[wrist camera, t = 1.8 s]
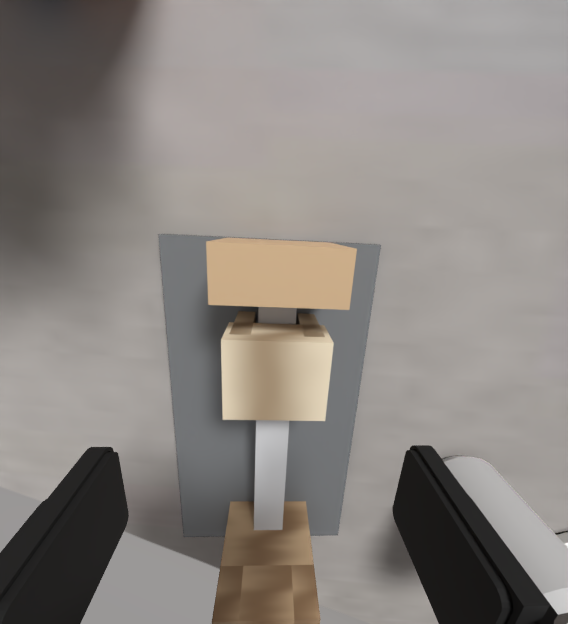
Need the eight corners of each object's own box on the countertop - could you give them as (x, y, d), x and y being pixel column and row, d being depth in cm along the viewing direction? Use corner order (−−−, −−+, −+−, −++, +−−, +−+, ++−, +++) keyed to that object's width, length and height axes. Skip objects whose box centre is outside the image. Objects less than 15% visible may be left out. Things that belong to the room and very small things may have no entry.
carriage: (318, 313, 19) (333, 343, 15) (312, 375, 21) (325, 420, 16) (234, 311, 19) (220, 339, 14) (234, 373, 21) (222, 419, 16)
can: (406, 506, 27) (502, 705, 16) (425, 446, 25) (552, 627, 14) (476, 509, 28) (618, 704, 16) (500, 451, 26) (683, 628, 14)
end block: (305, 501, 25) (320, 619, 18) (302, 535, 27) (314, 659, 19) (230, 501, 25) (211, 621, 17) (230, 536, 26) (213, 662, 19)
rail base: (375, 244, 20) (429, 252, 13) (335, 524, 28) (355, 618, 21) (164, 234, 19) (104, 236, 12) (186, 525, 27) (158, 623, 20)
